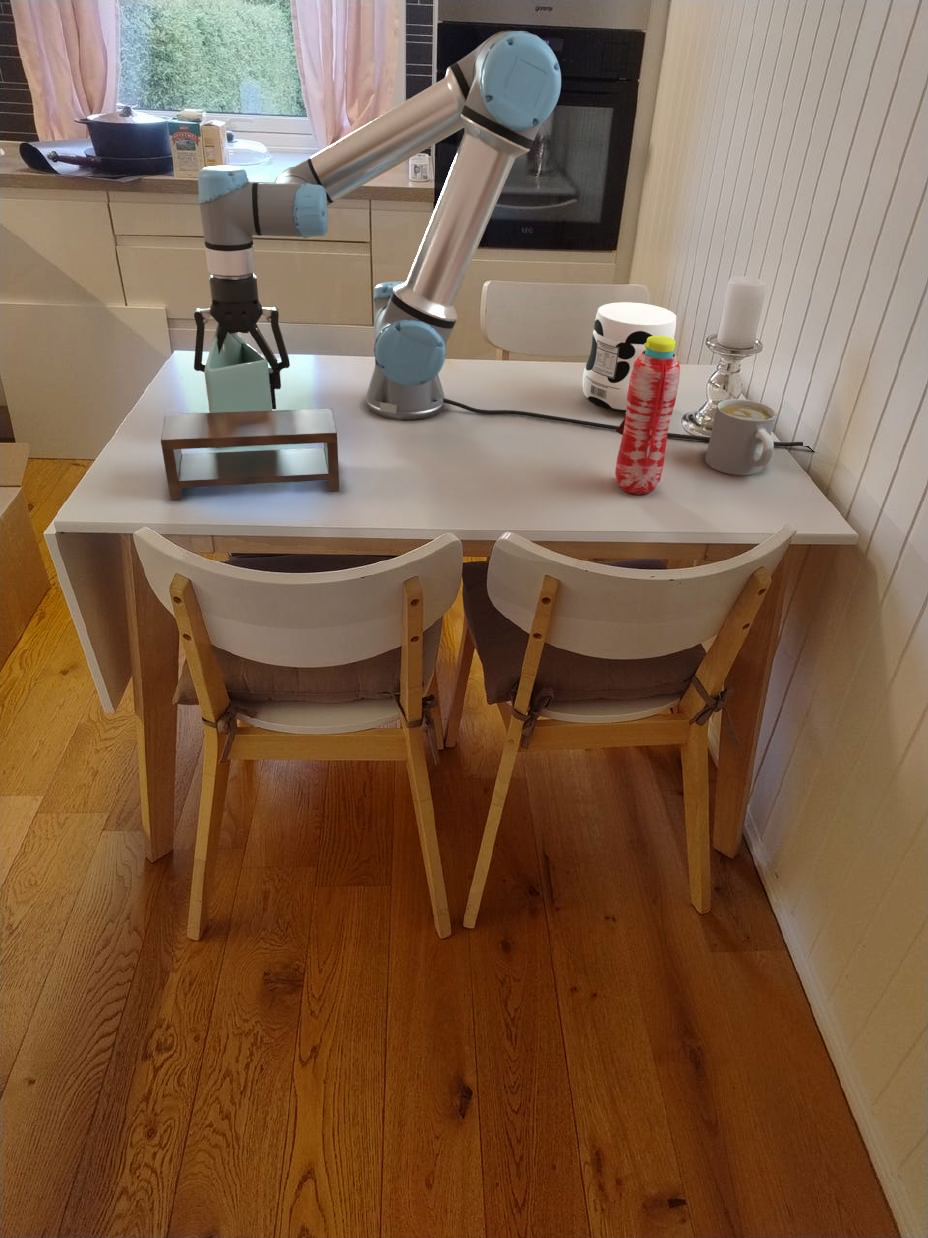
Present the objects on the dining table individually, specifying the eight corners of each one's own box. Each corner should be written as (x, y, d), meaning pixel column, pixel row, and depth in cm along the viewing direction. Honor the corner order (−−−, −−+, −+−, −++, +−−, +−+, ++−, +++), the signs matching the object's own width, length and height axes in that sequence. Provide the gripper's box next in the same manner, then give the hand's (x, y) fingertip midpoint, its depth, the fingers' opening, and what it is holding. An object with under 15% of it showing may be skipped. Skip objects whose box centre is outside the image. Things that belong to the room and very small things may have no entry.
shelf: (334, 464, 148) (331, 408, 142) (339, 491, 140) (337, 432, 134) (174, 472, 143) (165, 414, 137) (170, 500, 135) (160, 439, 129)
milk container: (665, 393, 183) (681, 305, 172) (666, 424, 169) (684, 330, 158) (582, 384, 185) (593, 297, 174) (577, 414, 171) (588, 321, 160)
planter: (257, 452, 150) (244, 337, 138) (213, 447, 151) (197, 332, 139) (289, 417, 163) (280, 309, 152) (249, 412, 164) (237, 305, 153)
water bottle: (605, 467, 152) (627, 321, 137) (650, 469, 152) (677, 323, 137) (615, 499, 142) (639, 345, 127) (664, 501, 142) (694, 348, 128)
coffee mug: (697, 451, 159) (708, 398, 153) (749, 451, 160) (762, 398, 154) (724, 484, 148) (737, 429, 142) (779, 483, 149) (795, 428, 143)
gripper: (298, 267, 146) (307, 397, 159) (165, 268, 142) (185, 401, 155) (300, 278, 140) (309, 412, 153) (161, 280, 136) (183, 418, 149)
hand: (247, 407), depth 154 cm, fingers closed on planter, 9 cm apart
